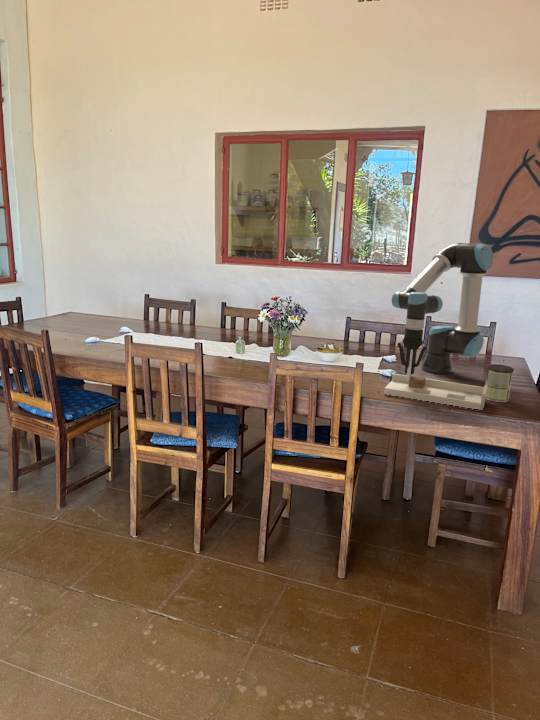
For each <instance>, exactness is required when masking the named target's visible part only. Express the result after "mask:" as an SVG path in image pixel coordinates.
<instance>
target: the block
mask: <svg viewBox="0 0 540 720" xmlns="http://www.w3.org/2000/svg"><path fill="white" fill-rule="evenodd" d="M425 378H426V377H424V376H417V375H414V374H411V377H410V378H409V386H408V387H413V388H419V389H423V388H424V386H425Z"/></svg>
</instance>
